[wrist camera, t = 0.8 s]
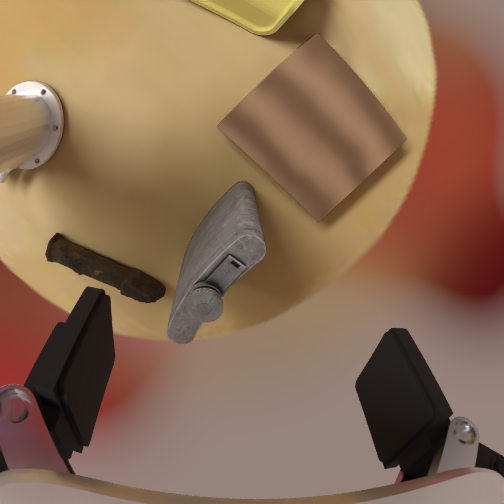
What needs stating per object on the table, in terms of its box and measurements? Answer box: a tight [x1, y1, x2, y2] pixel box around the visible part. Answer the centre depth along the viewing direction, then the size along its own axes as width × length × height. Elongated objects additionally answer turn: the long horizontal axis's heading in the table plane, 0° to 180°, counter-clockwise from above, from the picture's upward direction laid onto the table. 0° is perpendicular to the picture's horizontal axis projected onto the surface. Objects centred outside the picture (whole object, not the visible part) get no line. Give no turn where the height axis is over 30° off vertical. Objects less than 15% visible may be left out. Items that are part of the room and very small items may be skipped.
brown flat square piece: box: [217, 33, 407, 222], centre depth 36 cm, size 16×17×3 cm
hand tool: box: [45, 233, 166, 303], centre depth 43 cm, size 19×4×5 cm, turn 61°
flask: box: [167, 181, 266, 344], centre depth 34 cm, size 4×14×18 cm, turn 143°
